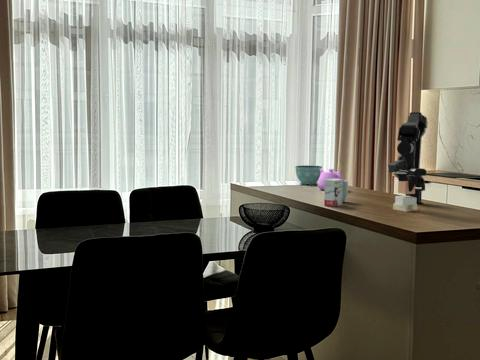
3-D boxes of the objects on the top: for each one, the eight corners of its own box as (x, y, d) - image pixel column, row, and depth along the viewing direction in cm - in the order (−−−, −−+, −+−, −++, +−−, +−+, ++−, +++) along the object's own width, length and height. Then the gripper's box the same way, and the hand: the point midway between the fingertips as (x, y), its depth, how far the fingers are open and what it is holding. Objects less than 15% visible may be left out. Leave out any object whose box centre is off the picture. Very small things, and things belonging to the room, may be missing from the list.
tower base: (404, 209, 245) (404, 202, 245) (416, 211, 239) (417, 204, 239) (392, 210, 241) (393, 203, 241) (405, 212, 235) (405, 205, 235)
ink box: (333, 207, 246) (334, 180, 245) (323, 205, 249) (324, 179, 248) (342, 204, 253) (343, 178, 251) (332, 203, 256) (333, 178, 254)
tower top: (408, 202, 244) (408, 195, 243) (416, 204, 237) (416, 197, 237) (395, 202, 242) (395, 196, 242) (402, 205, 236) (402, 198, 236)
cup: (349, 201, 264) (349, 180, 263) (344, 203, 257) (345, 181, 256) (333, 200, 267) (333, 179, 266) (328, 202, 260) (329, 181, 259)
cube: (397, 192, 241) (398, 181, 240) (407, 192, 242) (408, 180, 242) (404, 194, 236) (405, 182, 236) (414, 193, 238) (415, 182, 237)
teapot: (350, 191, 304) (351, 169, 302) (330, 192, 298) (330, 170, 296) (328, 187, 321) (329, 167, 320) (309, 188, 315) (309, 167, 314)
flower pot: (294, 185, 332) (294, 166, 330) (295, 182, 347) (296, 165, 346) (321, 186, 329) (321, 167, 328) (322, 183, 345) (322, 165, 344)
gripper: (379, 153, 244) (377, 188, 245) (405, 155, 226) (403, 194, 228) (400, 153, 247) (399, 188, 249) (428, 155, 230) (426, 193, 231)
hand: (406, 190), depth 239 cm, fingers closed on cube, 5 cm apart
